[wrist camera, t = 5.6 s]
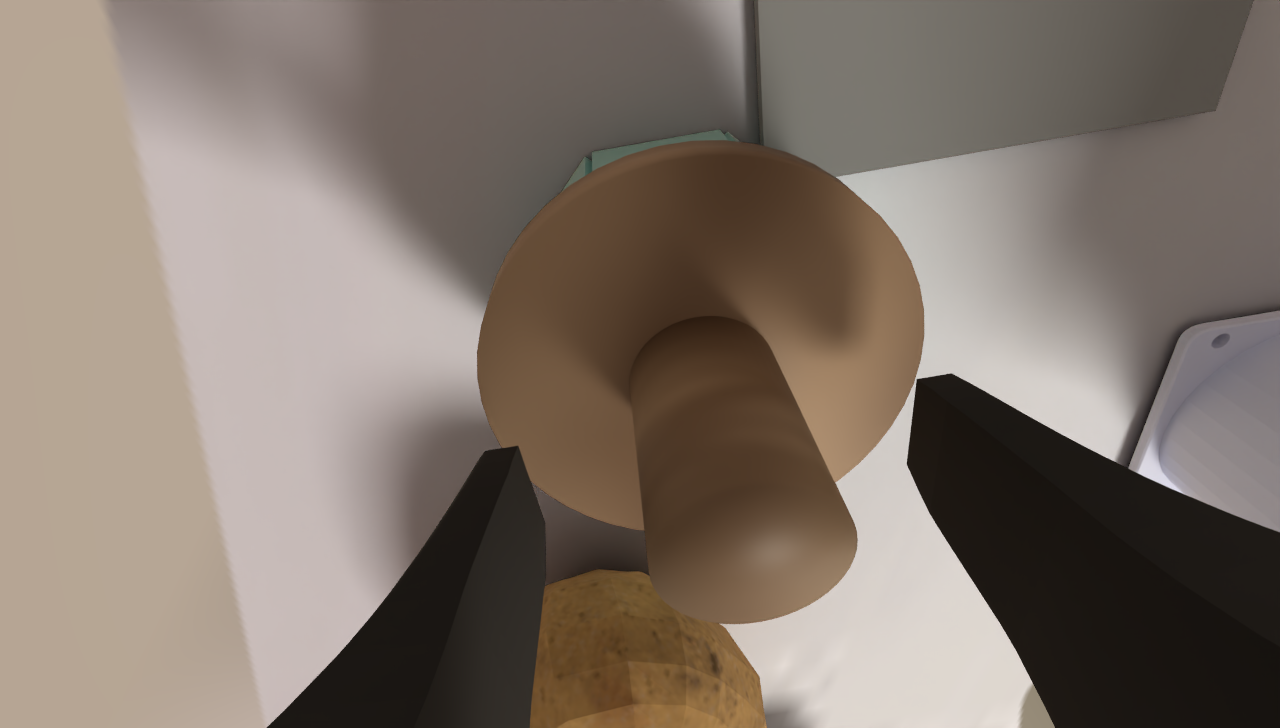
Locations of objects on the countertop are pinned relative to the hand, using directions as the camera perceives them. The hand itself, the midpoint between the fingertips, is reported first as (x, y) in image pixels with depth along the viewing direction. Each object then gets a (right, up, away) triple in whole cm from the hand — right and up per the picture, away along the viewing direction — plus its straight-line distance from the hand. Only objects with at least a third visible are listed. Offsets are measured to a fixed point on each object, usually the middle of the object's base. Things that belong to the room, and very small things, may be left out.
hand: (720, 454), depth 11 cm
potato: (-2, -8, +14) cm, 16 cm away
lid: (0, +2, +2) cm, 3 cm away
